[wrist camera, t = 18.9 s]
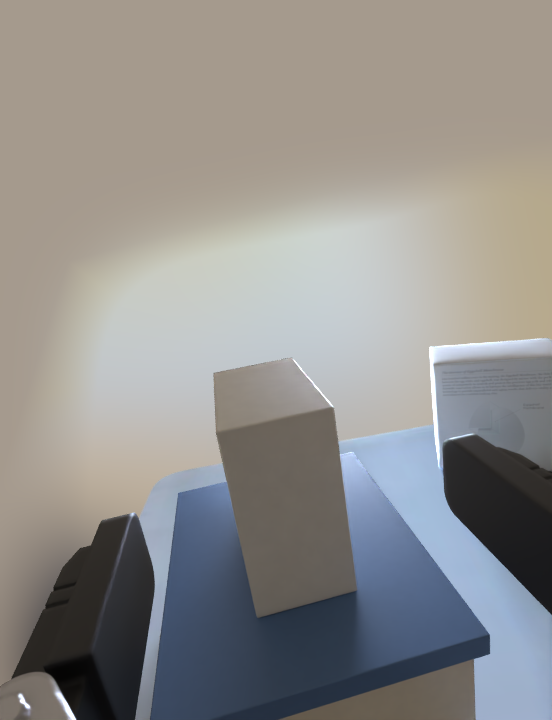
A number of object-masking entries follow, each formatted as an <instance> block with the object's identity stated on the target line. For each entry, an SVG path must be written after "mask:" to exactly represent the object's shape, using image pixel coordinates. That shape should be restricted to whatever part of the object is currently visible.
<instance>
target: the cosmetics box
mask: <svg viewBox="0 0 552 720" xmlns="http://www.w3.org/2000/svg"><path fill="white" fill-rule="evenodd" d="M429 352H430V368H431V385H432V400H433V415H434V428H435V441H436V447H437V455H438V465H439V468H440V469H443V454H442V446H443V442H444V441H445V440H446V439H450V438H454V437H459V436H463V435H467V434H471V433H474V434H477V435H478V436H480V437H482V438H483V439H485V440H486V441H488V442H489V443H491V444H492V445H494V446H495V447H501V448H504V449H507V450H510V451H512V452H515V453H518V454H521V455H523V456H524V457H526V458H528V459H529V460H531V461H532V462H534V463H536V464H537V465H539V467H540V468H544V469H545V470H547V471H552V340H551V339H549V338H542V339H529V340H516V341H503V342H490V343H476V344H464V345H448V346H436V347H430V348H429Z"/></svg>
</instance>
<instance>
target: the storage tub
mask: <svg viewBox="0 0 552 720" xmlns="http://www.w3.org/2000/svg"><path fill="white" fill-rule="evenodd" d="M340 459H341V467H342V475H343V483H344V490H345V498H346V506H347V514H348V522H349V529H350V537H351V545H352V553H353V560H354V568H355V576H356V584H357V591H354V592H350V593H347V594H343V595H340V596H336V597H332V598H329V599H325V600H321V601H318V602H314V603H311V604H307V605H303V606H300V607H296V608H293V609H289V610H285V611H282V612H278V613H274V614H271V615H267V616H264V617H260V618H257V616H256V612H255V607H254V603H253V598H252V594H251V589H250V585H249V580H248V576H247V571H246V566H245V562H244V557H243V553H242V548H241V544H240V539H239V535H238V530H237V526H236V521H235V517H234V512H233V508H232V503H231V498H230V494H229V489H228V485H227V482H223V483H219V484H215V485H210V486H206V487H202V488H198V489H193V490H189V491H185V492H180V493H178V500H177V508H176V516H175V524H174V532H173V540H172V548H171V556H170V564H169V572H168V580H167V588H166V596H165V604H164V612H163V620H162V628H161V636H160V644H159V652H158V660H157V668H156V676H155V684H154V692H153V700H152V708H151V716H150V720H476V718H475V684H474V659H475V658H479V657H482V656H485V655H488V654H490V635H489V633H488V632H487V631H486V629H485V628H484V627H483V625H482V624H481V623H480V621H479V620H478V619H477V617H476V616H475V615H474V613H473V612H472V611H471V609H470V608H469V607H468V605H467V604H466V603H465V601H464V600H463V599H462V597H461V596H460V595H459V593H458V592H457V591H456V589H455V588H454V587H453V585H452V584H451V583H450V581H449V580H448V579H447V577H446V576H445V575H444V573H443V572H442V571H441V569H440V568H439V566H438V565H437V564H436V562H435V561H434V560H433V558H432V557H431V556H430V554H429V553H428V552H427V550H426V549H425V548H424V546H423V545H422V544H421V542H420V541H419V540H418V538H417V537H416V536H415V534H414V533H413V532H412V530H411V529H410V528H409V526H408V525H407V524H406V522H405V521H404V520H403V518H402V517H401V516H400V514H399V513H398V512H397V510H396V509H395V508H394V506H393V505H392V504H391V502H390V501H389V500H388V498H387V497H386V496H385V494H384V493H383V492H382V490H381V489H380V488H379V486H378V485H377V484H376V482H375V481H374V480H373V478H372V477H371V476H370V474H369V473H368V472H367V470H366V469H365V468H364V466H363V465H362V464H361V462H360V461H359V460H358V458H357V457H356V456H355V454H354V453H353V452H351V453H347V454H343V455H340Z"/></svg>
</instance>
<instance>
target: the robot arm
mask: <svg viewBox="0 0 552 720" xmlns="http://www.w3.org/2000/svg"><path fill="white" fill-rule="evenodd" d="M442 454H443V476H444V492H445V497H446V500H447V503H448V505H449V507H450V509H451V510H452V512H453V513H454V515H455V516H456V517H457V518H458V519H459V520H460V521H461V522H462V523H463V524H464V525H465V526H466V527H467V528H468V529H469V530H470V531H471V532H472V533H473V534H474V535H475V536H476V537H477V538H478V539H479V540H480V541H481V542H482V544H483V545H484V546H485V547H486V548H487V549H488V550H489V551H490V552H491V553H492V554H493V555H494V556H495V557H496V558H497V559H498V560H499V561H500V562H501V563H502V564H503V565H504V566H505V567H506V568H507V569H508V570H509V571H510V572H511V573H512V574H513V575H514V576H515V577H516V579H517V580H518V581H519V582H520V583H521V584H522V585H523V586H524V587H525V588H526V589H527V590H528V591H529V592H530V593H531V594H532V595H533V596H534V597H535V598H536V599H537V600H538V601H539V602H540V603H541V604H542V605H543V606H544V607H545V608H546V609H547V610H548V611H549V612H550V614H551V615H552V473H550V472H549V471H547V470H545V469H544V468H540V467H539V465H537V464H536V463H534V462H532V461H531V460H529V459H528V458H526V457H524V456H523V455H521V454H518V453H515V452H512V451H510V450H507V449H504V448H501V447H495V446H494V445H492V444H491V443H489V442H488V441H486V440H485V439H483V438H482V437H480V436H478V435H477V434H474V433H471V434H467V435H463V436H459V437H454V438H450V439H446V440H445V441H444V442H443V446H442ZM154 589H155V581H154V571H153V566H152V562H151V558H150V555H149V552H148V548H147V545H146V542H145V538H144V535H143V531H142V528H141V525H140V521H139V518H138V516H137V515H136V514H135V513H131V514H127V515H122V516H118V517H114V518H110V519H105V520H102V521H101V523H100V524H99V527H98V530H97V532H96V535H95V537H94V540H93V542H92V544H91V546H87V547H83V548H80V549H79V550H78V551H77V552H76V553H75V554H74V555H73V557H72V558H71V559H70V560H69V561H68V562H67V563H66V564H65V566H64V567H63V568H62V570H61V572H60V575H59V577H58V579H57V581H56V583H55V585H54V591H53V592H51V594H50V596H49V598H48V601H47V603H46V605H45V606H46V609H44V610H43V611H42V613H41V616H40V618H39V620H38V622H37V624H36V626H35V629H34V631H33V633H32V635H31V637H30V639H29V642H28V644H27V646H26V648H25V650H24V652H23V654H22V657H21V659H20V661H19V663H18V665H17V668H16V670H15V672H14V674H13V676H12V679H11V680H10V681H8V682H6V683H4V684H2V685H1V686H0V720H135V715H136V709H137V702H138V696H139V689H140V682H141V676H142V669H143V663H144V656H145V650H146V643H147V637H148V630H149V624H150V617H151V611H152V604H153V598H154Z"/></svg>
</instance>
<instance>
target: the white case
mask: <svg viewBox="0 0 552 720" xmlns="http://www.w3.org/2000/svg"><path fill="white" fill-rule="evenodd" d="M214 395H215V419H216V435H217V439H218V444H219V449H220V453H221V458H222V462H223V467H224V471H225V476H226V480H227V485H228V489H229V494H230V498H231V503H232V508H233V512H234V517H235V521H236V526H237V530H238V535H239V539H240V544H241V548H242V553H243V557H244V562H245V566H246V571H247V576H248V580H249V585H250V589H251V594H252V598H253V603H254V607H255V612H256V616H257V618H260V617H264V616H267V615H271V614H274V613H278V612H282V611H285V610H289V609H293V608H296V607H300V606H303V605H307V604H311V603H314V602H318V601H321V600H325V599H329V598H332V597H336V596H340V595H343V594H347V593H350V592H354V591H357V584H356V576H355V568H354V560H353V553H352V545H351V537H350V529H349V522H348V514H347V506H346V498H345V490H344V483H343V475H342V467H341V459H340V452H339V444H338V437H337V429H336V421H335V413H334V407H333V406H332V404H331V403H330V402H329V401H328V400H327V399H326V397H325V396H324V395H323V394H322V393H321V391H320V390H319V389H318V388H317V387H316V386H315V384H314V383H313V382H312V381H311V379H310V378H309V377H308V376H307V375H306V374H305V372H304V371H303V370H302V369H301V368H300V366H299V365H298V364H297V363H296V362H295V360H294V359H293V358H286V359H281V360H276V361H271V362H266V363H261V364H256V365H251V366H246V367H241V368H236V369H231V370H226V371H221V372H216V373H214Z"/></svg>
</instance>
